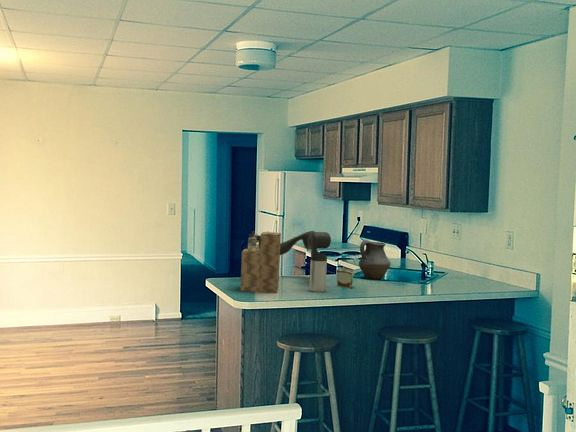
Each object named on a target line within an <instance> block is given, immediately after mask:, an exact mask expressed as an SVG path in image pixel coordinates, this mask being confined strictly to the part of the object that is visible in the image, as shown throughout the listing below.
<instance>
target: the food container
mask: <svg viewBox="0 0 576 432" xmlns="http://www.w3.org/2000/svg"><path fill="white" fill-rule="evenodd" d="M335 273H336V286H337V287H339V286H341V287H340V288H344V287H347V288H346V289H352V288H353V283H354V282H353V281H354V276H355V271H354V270H353V269H346V268H345V269H344V268H342V269H341V268H337V269H336V270H335Z"/></svg>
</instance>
